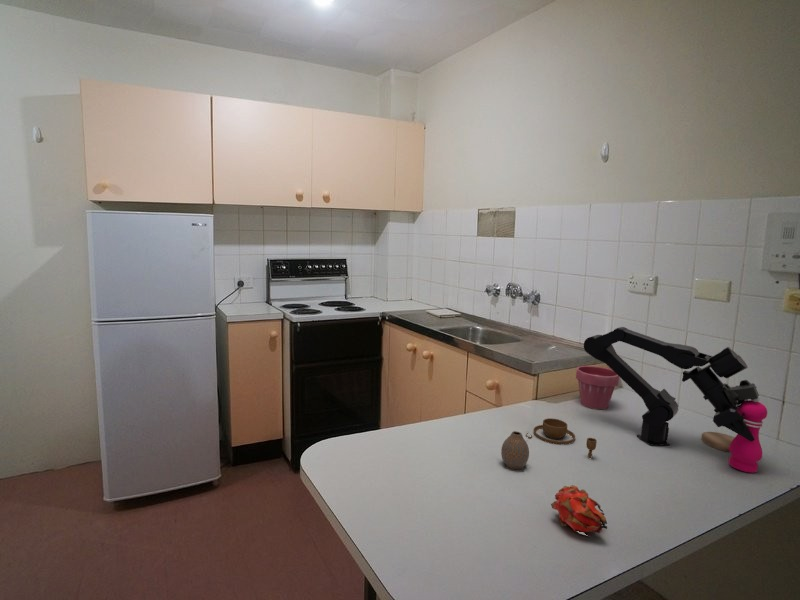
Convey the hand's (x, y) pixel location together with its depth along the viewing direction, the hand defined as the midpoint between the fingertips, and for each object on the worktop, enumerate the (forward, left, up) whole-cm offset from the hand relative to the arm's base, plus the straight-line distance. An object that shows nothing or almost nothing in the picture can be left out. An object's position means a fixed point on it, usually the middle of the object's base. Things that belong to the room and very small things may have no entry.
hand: (754, 437), depth 124 cm
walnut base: (+6, +15, -9) cm, 19 cm away
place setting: (-45, +19, -10) cm, 50 cm away
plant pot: (-16, +48, -9) cm, 51 cm away
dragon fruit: (-61, -20, -9) cm, 65 cm away
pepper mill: (-1, +1, -9) cm, 9 cm away
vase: (-64, +6, -9) cm, 65 cm away
